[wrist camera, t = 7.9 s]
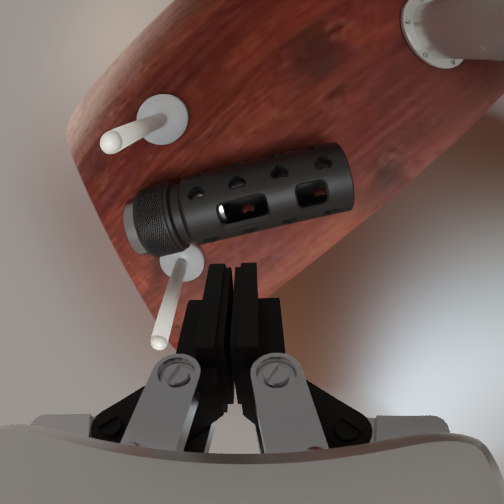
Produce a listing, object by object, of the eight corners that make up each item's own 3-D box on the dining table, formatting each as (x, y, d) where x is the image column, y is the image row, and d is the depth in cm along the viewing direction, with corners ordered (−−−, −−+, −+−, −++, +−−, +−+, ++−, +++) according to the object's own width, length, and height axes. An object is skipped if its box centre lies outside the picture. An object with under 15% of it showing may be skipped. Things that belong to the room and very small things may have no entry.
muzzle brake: (336, 195, 45) (358, 224, 36) (158, 237, 48) (141, 274, 39) (325, 133, 41) (349, 147, 32) (137, 182, 43) (111, 209, 34)
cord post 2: (201, 237, 48) (181, 324, 31) (207, 275, 51) (193, 367, 34) (158, 239, 48) (119, 324, 31) (166, 276, 51) (137, 366, 34)
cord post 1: (187, 90, 37) (142, 94, 20) (191, 139, 41) (153, 180, 23) (137, 98, 37) (65, 111, 20) (143, 145, 40) (79, 190, 23)
